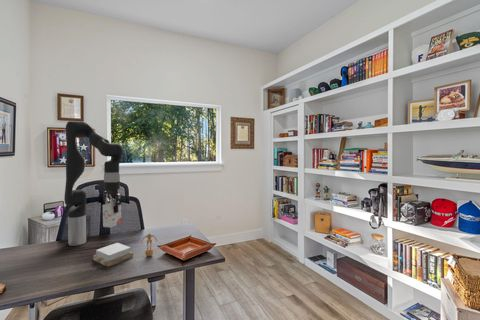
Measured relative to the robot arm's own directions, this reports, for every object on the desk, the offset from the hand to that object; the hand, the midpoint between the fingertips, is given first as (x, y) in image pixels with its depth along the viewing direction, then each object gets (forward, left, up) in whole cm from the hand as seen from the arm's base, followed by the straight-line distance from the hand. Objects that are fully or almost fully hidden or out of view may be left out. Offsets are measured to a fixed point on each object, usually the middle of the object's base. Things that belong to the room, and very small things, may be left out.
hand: (112, 211), depth 132 cm
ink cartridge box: (0, 0, -7) cm, 7 cm away
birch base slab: (0, 0, -26) cm, 26 cm away
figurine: (+13, +13, -26) cm, 32 cm away
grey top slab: (0, 0, -23) cm, 23 cm away
